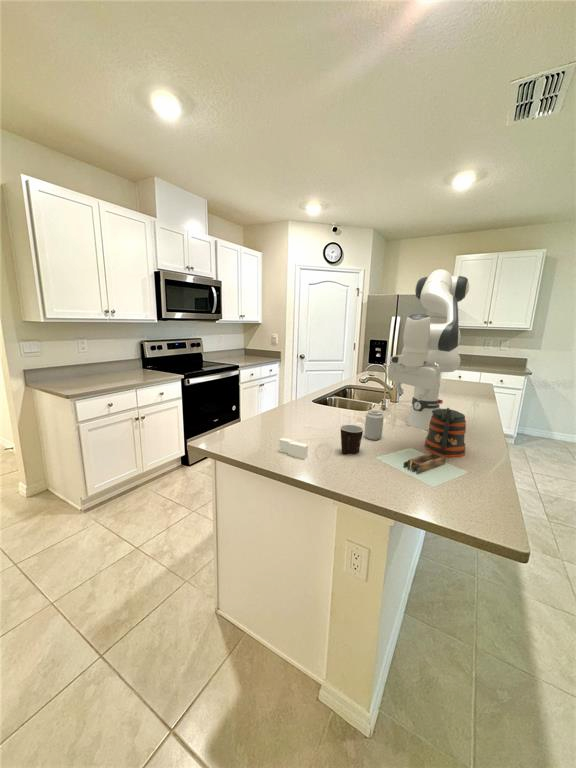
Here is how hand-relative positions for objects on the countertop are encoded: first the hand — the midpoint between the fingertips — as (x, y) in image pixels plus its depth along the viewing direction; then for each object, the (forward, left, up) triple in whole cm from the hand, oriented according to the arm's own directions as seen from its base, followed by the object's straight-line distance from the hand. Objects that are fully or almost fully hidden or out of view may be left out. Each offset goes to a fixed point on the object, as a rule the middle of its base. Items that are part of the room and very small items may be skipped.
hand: (410, 396), depth 114 cm
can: (-3, -19, -23) cm, 30 cm away
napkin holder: (+38, -21, -24) cm, 49 cm away
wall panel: (+4, +10, -23) cm, 25 cm away
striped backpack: (-15, +7, -23) cm, 29 cm away
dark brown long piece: (+3, +11, -22) cm, 25 cm away
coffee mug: (+19, -11, -23) cm, 32 cm away
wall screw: (+11, +11, -22) cm, 27 cm away
